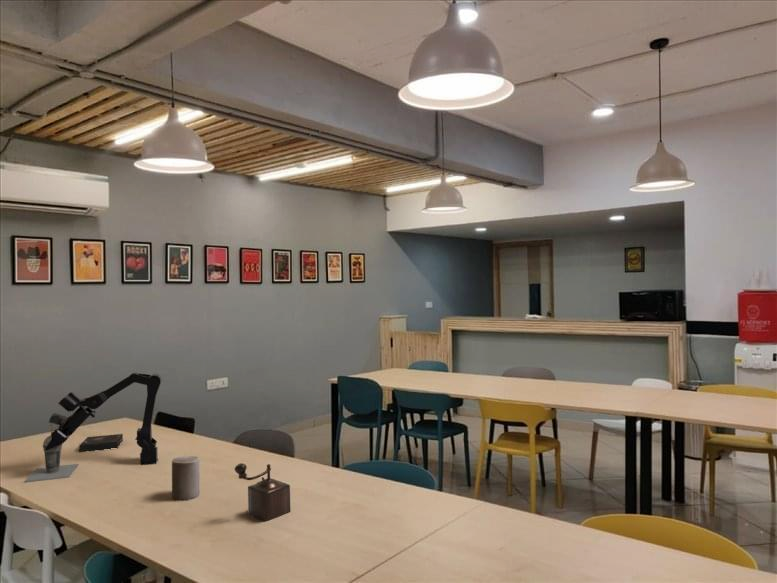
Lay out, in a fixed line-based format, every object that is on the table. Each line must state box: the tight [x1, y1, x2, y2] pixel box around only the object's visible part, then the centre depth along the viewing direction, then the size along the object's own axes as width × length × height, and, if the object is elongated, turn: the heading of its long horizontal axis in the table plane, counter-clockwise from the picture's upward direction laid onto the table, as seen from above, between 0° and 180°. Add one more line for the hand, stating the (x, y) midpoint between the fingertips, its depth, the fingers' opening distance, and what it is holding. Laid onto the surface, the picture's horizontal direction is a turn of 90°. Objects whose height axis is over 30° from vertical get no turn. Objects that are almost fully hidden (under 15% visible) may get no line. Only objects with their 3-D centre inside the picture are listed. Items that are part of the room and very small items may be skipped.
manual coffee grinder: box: [234, 463, 291, 522], centre depth 181 cm, size 16×11×18 cm
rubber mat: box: [24, 463, 79, 483], centre depth 231 cm, size 16×18×1 cm
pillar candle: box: [171, 455, 201, 501], centre depth 200 cm, size 10×10×15 cm
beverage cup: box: [42, 424, 63, 474], centre depth 231 cm, size 7×7×20 cm
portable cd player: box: [78, 433, 124, 453], centre depth 273 cm, size 16×17×4 cm
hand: (48, 447), depth 231 cm, fingers open, 9 cm apart
